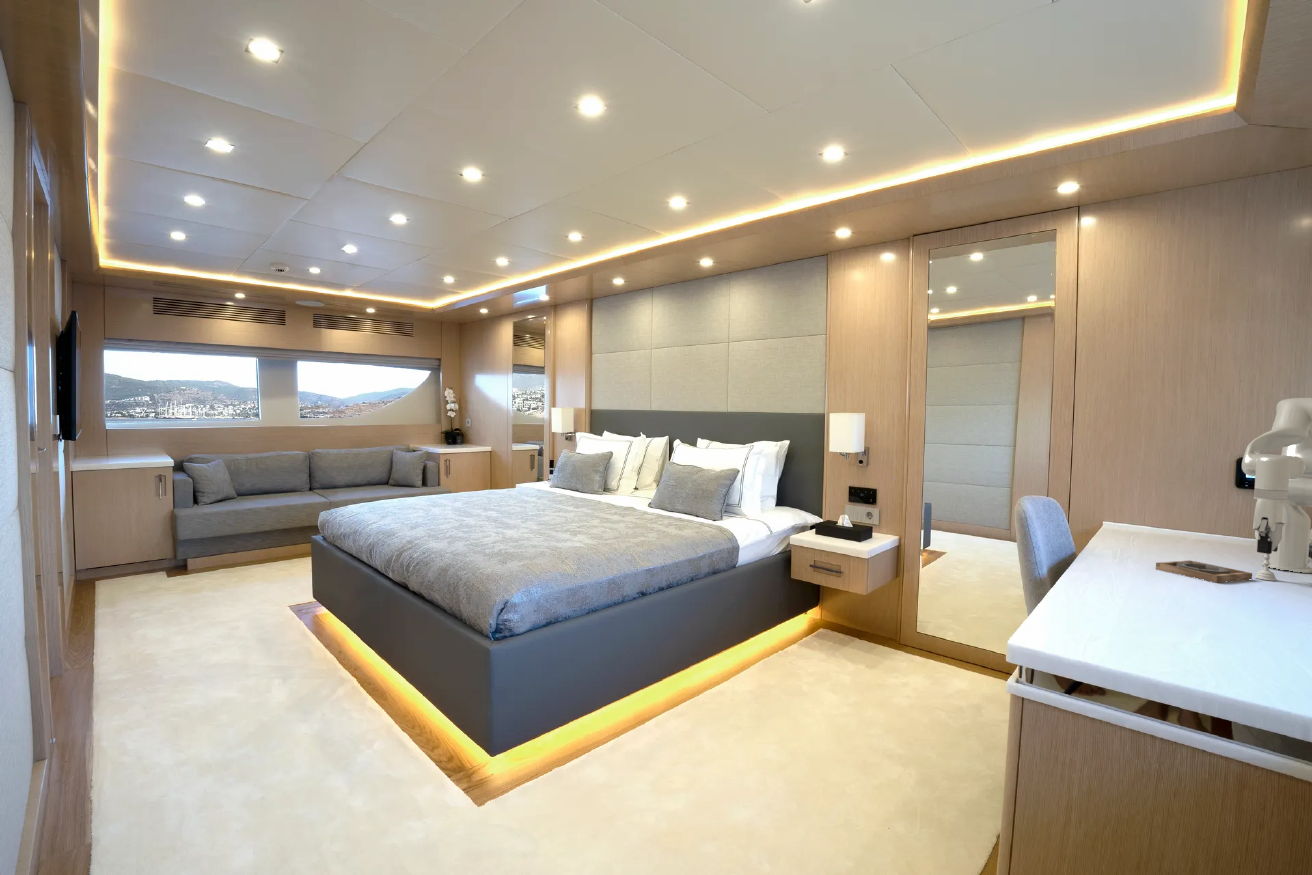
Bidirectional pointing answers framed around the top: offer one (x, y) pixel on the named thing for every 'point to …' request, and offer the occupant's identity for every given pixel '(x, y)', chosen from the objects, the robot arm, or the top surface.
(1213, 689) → the top surface
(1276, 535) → the chalice
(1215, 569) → the holder tray
